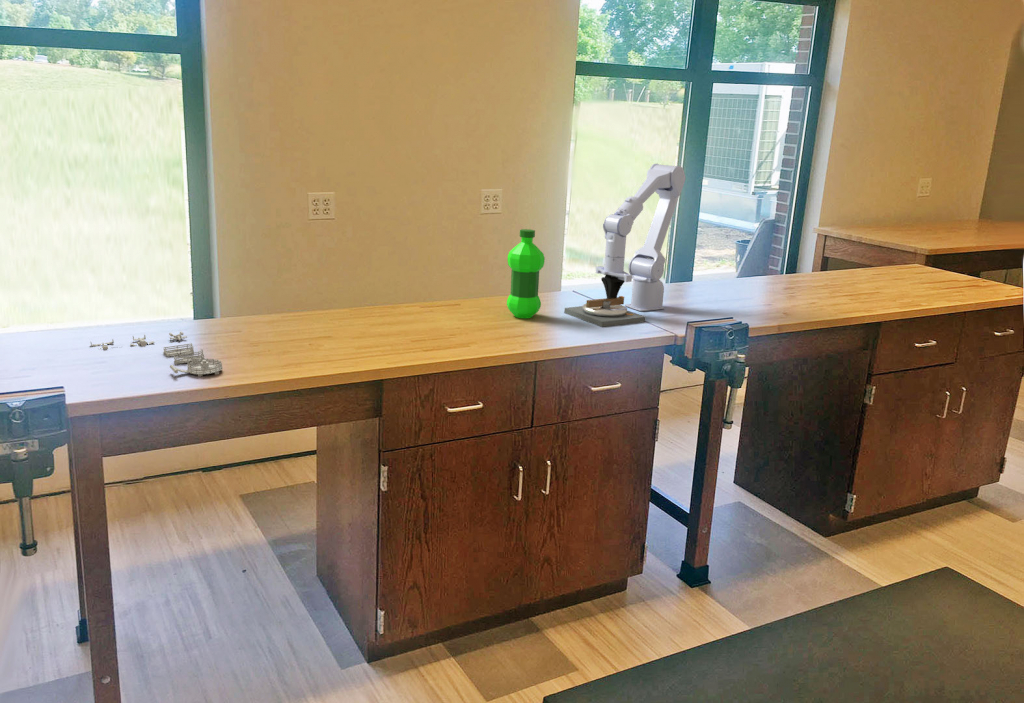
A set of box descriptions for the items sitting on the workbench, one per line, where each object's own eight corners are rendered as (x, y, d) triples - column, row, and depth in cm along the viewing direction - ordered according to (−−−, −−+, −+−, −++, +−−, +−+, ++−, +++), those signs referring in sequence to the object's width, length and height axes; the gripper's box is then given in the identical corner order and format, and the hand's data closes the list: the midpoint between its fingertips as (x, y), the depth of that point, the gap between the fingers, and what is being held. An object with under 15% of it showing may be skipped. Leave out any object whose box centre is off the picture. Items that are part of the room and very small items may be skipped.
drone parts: (111, 393, 179) (110, 378, 178) (86, 351, 208) (84, 338, 207) (227, 375, 191) (225, 361, 191) (187, 337, 220) (186, 325, 219)
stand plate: (607, 308, 270) (607, 302, 270) (645, 321, 256) (646, 315, 255) (564, 312, 262) (564, 307, 261) (601, 326, 247) (602, 321, 247)
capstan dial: (608, 304, 267) (609, 292, 266) (636, 314, 256) (637, 301, 255) (573, 308, 260) (574, 295, 259) (600, 318, 250) (601, 304, 248)
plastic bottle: (510, 321, 249) (514, 232, 242) (502, 312, 259) (506, 227, 252) (544, 320, 251) (549, 233, 245) (535, 311, 261) (539, 227, 254)
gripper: (589, 252, 261) (585, 297, 265) (619, 261, 250) (616, 307, 253) (607, 251, 265) (604, 295, 269) (638, 259, 253) (635, 305, 257)
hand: (611, 301), depth 261 cm, fingers closed
